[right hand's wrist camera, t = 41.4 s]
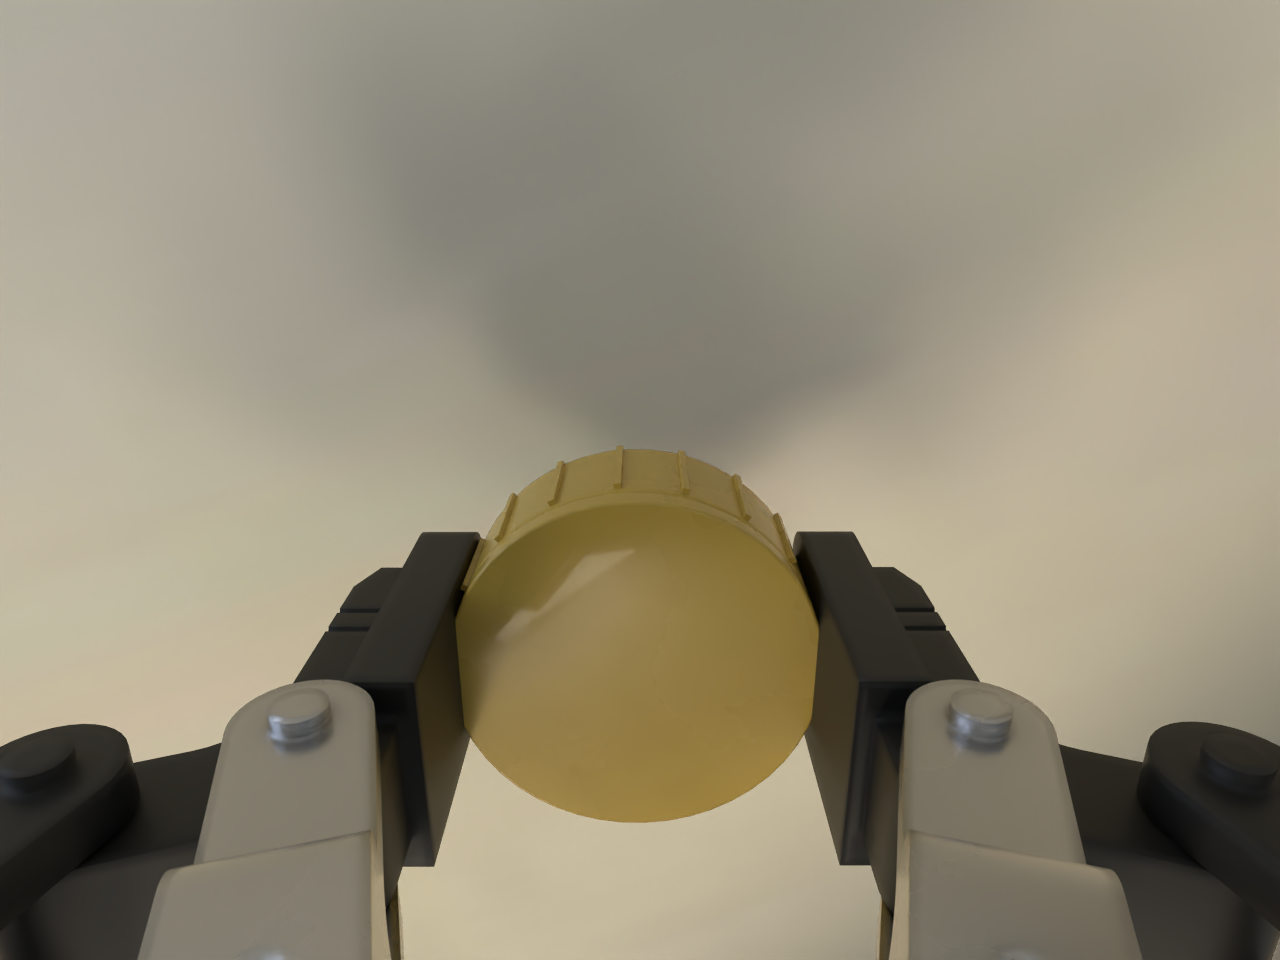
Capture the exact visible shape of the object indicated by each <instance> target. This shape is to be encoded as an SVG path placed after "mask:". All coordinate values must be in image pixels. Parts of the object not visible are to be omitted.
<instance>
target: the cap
mask: <svg viewBox="0 0 1280 960" xmlns="http://www.w3.org/2000/svg"><path fill="white" fill-rule="evenodd" d="M461 590H463V591H465V593H464V595H463V598H462V601H461V603H460V606H459V608H458V611H457V614H456V616H455V624H456V636H457V648H458V659H459V671H460V682H461V694H462V705H463V717H464V726H465V728H466V730H467V732H468V733H469V735H470V737H471V739H472V741H473V742H474V743H475V745H476V746H477V747H478V749H479V750H480V751H481V752H482V754H483V755H484V756H485V758H486V759H487V760H488V761H489V762H490V763H491V764H492V765H493V766H494V767H495V768H496V769H497V770H498V771H499V772H500V773H501V774H502V775H504V776H505V777H506V778H508V779H509V780H510V781H511V782H513V783H514V784H515V785H516V786H518V787H519V788H521V789H523V790H524V791H526V792H527V793H529V794H531V795H532V796H534V797H536V798H537V799H540V800H542V801H544V802H546V803H548V804H550V805H552V806H555V807H557V808H560V809H563V810H565V811H568V812H571V813H574V814H577V815H581V816H586V817H590V818H595V819H599V820H607V821H615V822H636V823H647V822H658V821H668V820H673V819H678V818H683V817H688V816H692V815H695V814H699V813H702V812H705V811H708V810H712V809H714V808H716V807H718V806H721V805H723V804H725V803H728V802H730V801H732V800H734V799H736V798H737V797H739V796H741V795H743V794H744V793H746V792H748V791H749V790H751V789H752V788H754V787H755V786H757V785H758V784H759V783H761V782H762V781H763V780H765V779H766V778H767V777H769V776H770V775H771V774H772V773H773V772H774V771H775V770H776V769H777V768H778V767H779V766H780V765H781V764H782V763H783V762H784V761H785V760H786V759H787V757H788V756H789V755H790V754H791V752H792V751H793V750H794V749H795V747H796V746H797V745H798V743H799V742H800V740H801V738H802V737H803V735H804V733H805V732H806V730H807V728H808V726H809V724H810V722H811V718H812V708H813V697H814V685H815V673H816V661H817V649H818V638H819V622H818V619H817V616H816V614H815V611H814V608H813V605H812V602H811V600H810V597H809V594H808V591H807V589H806V586H805V583H804V580H803V578H802V575H801V572H800V569H799V567H798V564H797V560H796V557H795V555H794V552H793V549H792V546H791V544H790V541H789V538H788V535H787V533H786V530H785V527H784V524H783V522H782V519H781V516H780V515H779V514H778V513H776V514H775V515H773V514H772V512H771V511H770V510H769V508H768V507H767V506H766V505H765V504H764V503H763V502H762V501H761V500H760V499H759V498H758V497H757V496H756V495H755V494H754V493H753V492H752V491H751V490H750V489H749V488H747V487H746V486H745V485H743V484H742V481H741V478H740V476H738V475H737V474H734V476H733V477H732V476H730V475H729V474H727V473H725V472H723V471H722V470H720V469H718V468H716V467H714V466H712V465H709V464H707V463H704V462H702V461H699V460H697V459H694V458H691V457H688V456H686V455H685V451H681V450H679V451H678V454H676V453H671V452H664V451H656V450H636V449H627V450H624V449H623V446H617V447H616V450H613V451H608V452H602V453H598V454H594V455H590V456H586V457H582V458H579V459H577V460H574V461H571V462H569V463H566V464H565V463H564V461H563V460H562V461H560V462H558V463H557V466H556V468H555V469H554V470H551V471H550V472H548V473H546V474H544V475H542V476H541V477H540V478H538V479H537V480H536V481H534V482H533V483H531V484H530V485H529V486H527V487H526V488H525V489H523V490H522V491H521V492H520V493H519V494H518V495H517V496H516V495H515V494H514V493H512V494H511V495H510V496H509V499H508V502H507V504H506V507H505V509H504V510H503V512H502V513H501V514H500V515H499V517H498V518H497V519H496V521H495V523H494V524H493V526H492V528H491V530H490V531H489V533H488V535H487V537H486V539H482V538H480V541H479V543H478V546H477V548H476V551H475V553H474V556H473V558H472V561H471V563H470V566H469V568H468V571H467V573H466V576H465V578H464V581H463V583H462V586H461Z"/></svg>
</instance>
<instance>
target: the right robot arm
mask: <svg viewBox="0 0 1280 960" xmlns="http://www.w3.org/2000/svg"><path fill="white" fill-rule="evenodd" d="M480 538H481V537H480V535H479V533H478V532H423V533H422V534H421V535H420V537H419V538H418V540H417V542H416V544H415V546H414V548H413V550H412V551H411V553H410V555H409V557H408V559H407V561H406V562H405V564H404V566H403V568H380V569H379V570H378V571H376V572H375V573H373V574H372V575H370V576H369V577H367V578H366V579H364V580H363V581H361V582H360V583H358V584H357V585H356V586H354V587H353V589H352V590H351V592H350V594H349V595H348V597H347V598H346V600H345V602H344V603H343V605H342V606H341V608H340V613H337V614H336V616H335V617H334V619H333V621H332V622H331V624H330V625H329V631H328V632H325V633H324V635H323V637H322V638H321V640H320V641H319V643H318V644H317V646H316V648H315V649H314V651H313V652H312V654H311V656H310V657H309V659H308V660H307V662H306V664H305V665H304V667H303V668H302V670H301V672H300V673H299V675H298V676H297V678H296V679H295V681H294V683H293V684H289V685H286V686H282V687H279V688H277V689H274V690H271V691H269V692H267V693H265V694H263V695H261V696H259V697H257V698H255V699H254V700H252V701H250V702H249V703H247V704H246V705H245V706H244V707H242V708H241V709H240V710H239V711H238V712H237V713H236V714H235V715H234V716H233V717H232V718H231V720H230V721H229V723H228V724H227V726H226V729H225V732H224V735H223V739H222V743H219V744H216V745H213V746H210V747H207V748H203V749H199V750H195V751H190V752H185V753H180V754H176V755H171V756H166V757H161V758H156V759H151V760H146V761H141V762H136V763H133V761H132V757H131V753H130V749H129V745H128V742H127V740H126V738H125V737H124V736H123V735H122V733H120V732H118V731H117V730H115V729H113V728H110V727H107V726H102V725H96V724H77V725H67V726H61V727H55V728H51V729H47V730H43V731H39V732H36V733H33V734H30V735H27V736H24V737H22V738H19V739H17V740H14V741H12V742H10V743H8V744H6V745H4V746H2V747H0V960H404V950H403V930H402V914H401V907H400V899H399V891H398V884H397V883H398V880H399V876H400V873H401V870H402V867H434V865H435V862H436V858H437V854H438V851H439V847H440V844H441V840H442V837H443V833H444V829H445V826H446V822H447V819H448V815H449V812H450V808H451V804H452V801H453V797H454V794H455V790H456V786H457V783H458V779H459V776H460V772H461V769H462V765H463V761H464V758H465V754H466V751H467V747H468V743H469V740H470V735H469V733H468V732H467V730H466V728H465V726H464V717H463V705H462V694H461V682H460V671H459V659H458V648H457V636H456V624H455V616H456V614H457V611H458V608H459V606H460V603H461V601H462V598H463V595H464V593H465V591H463V590H461V586H462V583H463V581H464V578H465V576H466V573H467V571H468V568H469V566H470V563H471V561H472V558H473V556H474V553H475V551H476V548H477V546H478V543H479V541H480ZM793 552H794V555H795V557H796V560H797V564H798V567H799V569H800V572H801V575H802V578H803V580H804V583H805V586H806V589H807V591H808V594H809V597H810V600H811V602H812V605H813V608H814V611H815V614H816V616H817V619H818V622H819V638H818V649H817V661H816V673H815V685H814V697H813V708H812V718H811V722H810V724H809V726H808V728H807V730H806V732H805V733H804V735H805V739H806V742H807V746H808V750H809V753H810V757H811V761H812V765H813V768H814V772H815V776H816V779H817V783H818V787H819V790H820V794H821V798H822V801H823V805H824V809H825V812H826V816H827V820H828V823H829V827H830V831H831V835H832V838H833V842H834V846H835V849H836V853H837V857H838V860H839V864H840V865H871V867H872V870H873V874H874V877H875V880H876V883H877V886H878V890H879V892H880V894H881V899H880V907H879V914H878V930H877V951H876V960H1271V959H1272V956H1273V954H1274V951H1275V948H1276V945H1277V942H1278V939H1279V937H1280V746H1278V745H1276V744H1274V743H1272V742H1270V741H1268V740H1265V739H1263V738H1261V737H1258V736H1256V735H1253V734H1251V733H1248V732H1245V731H1241V730H1238V729H1235V728H1231V727H1227V726H1223V725H1218V724H1212V723H1204V722H1179V723H1173V724H1169V725H1166V726H1163V727H1161V728H1159V729H1158V730H1156V731H1155V732H1154V733H1153V734H1152V735H1151V736H1150V739H1149V742H1148V745H1147V749H1146V753H1145V757H1144V761H1143V762H1138V761H1133V760H1128V759H1123V758H1118V757H1113V756H1108V755H1103V754H1098V753H1093V752H1088V751H1083V750H1079V749H1075V748H1071V747H1067V746H1063V745H1060V744H1058V739H1057V735H1056V732H1055V729H1054V726H1053V724H1052V723H1051V721H1050V720H1049V718H1048V717H1047V716H1046V715H1045V714H1044V713H1043V712H1042V711H1041V710H1040V709H1039V708H1038V707H1037V706H1035V705H1034V704H1033V703H1031V702H1030V701H1028V700H1026V699H1025V698H1023V697H1021V696H1019V695H1017V694H1015V693H1013V692H1011V691H1009V690H1006V689H1003V688H1001V687H998V686H994V685H991V684H987V683H982V682H980V681H979V679H978V677H977V676H976V674H975V673H974V671H973V669H972V668H971V666H970V664H969V663H968V661H967V660H966V658H965V656H964V655H963V653H962V652H961V650H960V648H959V647H958V645H957V643H956V642H955V640H954V639H953V637H952V635H951V634H950V632H949V631H946V626H945V624H944V622H943V621H942V619H941V618H940V616H939V614H938V613H937V612H935V611H934V606H933V605H932V603H931V601H930V600H929V598H928V596H927V595H926V593H925V592H924V590H923V588H922V587H921V586H920V585H919V584H917V583H916V582H914V581H913V580H912V579H910V578H909V577H907V576H906V575H904V574H903V573H901V572H900V571H898V570H897V569H896V568H894V567H872V566H871V564H870V562H869V560H868V558H867V557H866V555H865V553H864V551H863V549H862V547H861V545H860V543H859V541H858V540H857V538H856V536H855V534H854V533H853V532H797V533H796V535H795V538H794V543H793Z"/></svg>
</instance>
